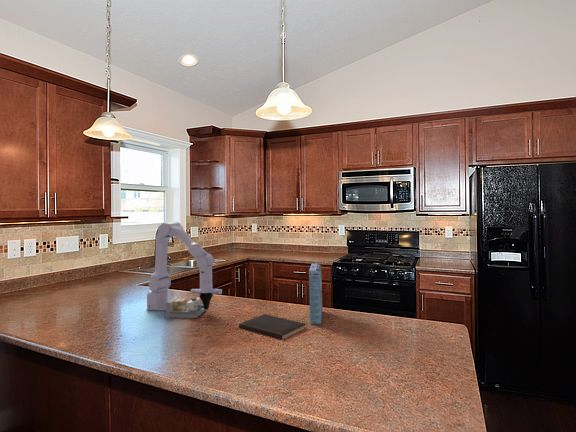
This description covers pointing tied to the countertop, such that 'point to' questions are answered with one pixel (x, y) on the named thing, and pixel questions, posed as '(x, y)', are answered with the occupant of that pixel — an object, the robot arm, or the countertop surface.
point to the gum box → (315, 293)
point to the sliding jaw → (194, 304)
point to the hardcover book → (272, 326)
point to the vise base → (181, 314)
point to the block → (180, 305)
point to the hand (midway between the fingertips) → (206, 309)
